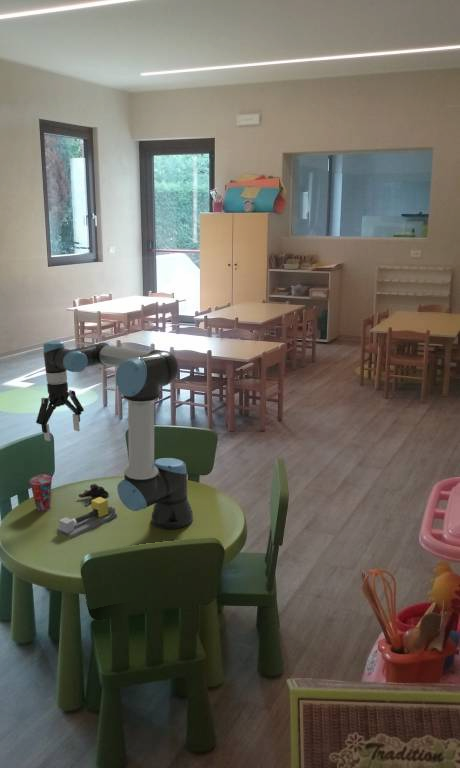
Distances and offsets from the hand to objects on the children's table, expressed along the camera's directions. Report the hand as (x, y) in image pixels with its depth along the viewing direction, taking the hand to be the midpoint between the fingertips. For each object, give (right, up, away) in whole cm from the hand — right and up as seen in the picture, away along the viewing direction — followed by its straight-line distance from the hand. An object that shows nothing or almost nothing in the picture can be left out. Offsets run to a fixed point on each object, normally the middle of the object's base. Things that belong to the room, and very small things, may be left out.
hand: (62, 435), depth 265 cm
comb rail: (+13, -31, -14) cm, 36 cm away
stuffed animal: (+11, -26, +8) cm, 29 cm away
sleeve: (+16, -28, -10) cm, 34 cm away
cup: (-7, -28, -1) cm, 29 cm away
